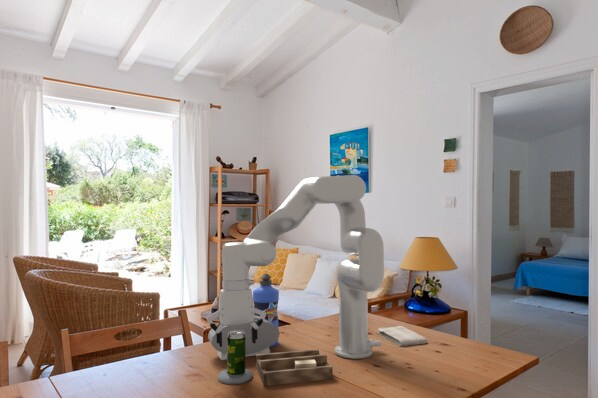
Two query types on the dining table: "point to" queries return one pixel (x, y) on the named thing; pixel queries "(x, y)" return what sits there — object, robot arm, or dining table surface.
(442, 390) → the dining table surface
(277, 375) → the rack
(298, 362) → the top offcut
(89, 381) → the dining table surface
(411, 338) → the washcloth
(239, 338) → the beer can
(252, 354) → the alarm clock
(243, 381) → the grey glossy dome
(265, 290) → the water bottle
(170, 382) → the dining table surface
